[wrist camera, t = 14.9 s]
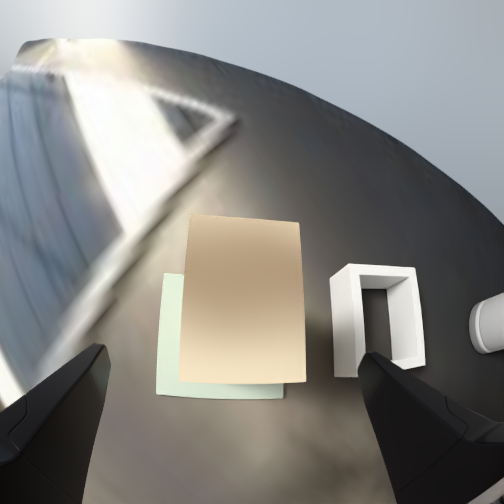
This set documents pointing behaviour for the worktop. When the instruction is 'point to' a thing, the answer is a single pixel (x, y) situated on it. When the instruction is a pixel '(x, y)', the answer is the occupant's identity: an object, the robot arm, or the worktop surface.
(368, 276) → the holder box
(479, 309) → the travel mug
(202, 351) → the tall tan tower
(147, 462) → the worktop surface
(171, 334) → the mat
